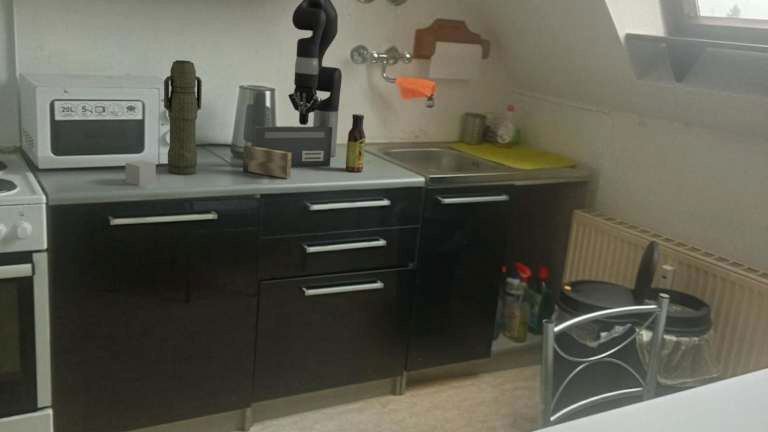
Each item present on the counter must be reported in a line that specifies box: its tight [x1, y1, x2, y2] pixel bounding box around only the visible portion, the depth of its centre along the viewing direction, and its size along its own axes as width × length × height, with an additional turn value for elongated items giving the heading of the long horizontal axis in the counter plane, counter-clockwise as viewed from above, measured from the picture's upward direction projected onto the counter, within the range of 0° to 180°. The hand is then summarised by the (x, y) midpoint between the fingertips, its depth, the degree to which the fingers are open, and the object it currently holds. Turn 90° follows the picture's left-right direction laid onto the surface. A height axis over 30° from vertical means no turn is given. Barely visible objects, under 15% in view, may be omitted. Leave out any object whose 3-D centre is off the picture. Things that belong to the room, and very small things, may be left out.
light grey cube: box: [125, 159, 157, 187], centre depth 218 cm, size 6×6×6 cm
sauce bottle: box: [345, 113, 366, 173], centre depth 257 cm, size 7×6×20 cm
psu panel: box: [252, 125, 332, 168], centre depth 255 cm, size 3×28×14 cm, turn 118°
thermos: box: [163, 59, 203, 176], centre depth 231 cm, size 9×12×35 cm
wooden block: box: [242, 145, 292, 179], centre depth 240 cm, size 17×3×8 cm, turn 68°
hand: (303, 124), depth 243 cm, fingers closed
